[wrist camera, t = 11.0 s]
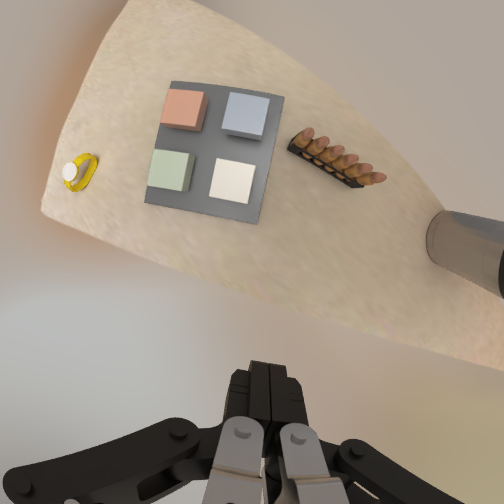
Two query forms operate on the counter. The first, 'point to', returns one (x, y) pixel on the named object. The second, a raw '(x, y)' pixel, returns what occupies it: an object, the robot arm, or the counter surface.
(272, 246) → the counter surface
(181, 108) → the terracotta key
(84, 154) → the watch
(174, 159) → the sage key
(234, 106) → the slate key
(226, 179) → the cream key
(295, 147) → the ammunition clip
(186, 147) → the keypad board
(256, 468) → the robot arm
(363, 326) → the counter surface
